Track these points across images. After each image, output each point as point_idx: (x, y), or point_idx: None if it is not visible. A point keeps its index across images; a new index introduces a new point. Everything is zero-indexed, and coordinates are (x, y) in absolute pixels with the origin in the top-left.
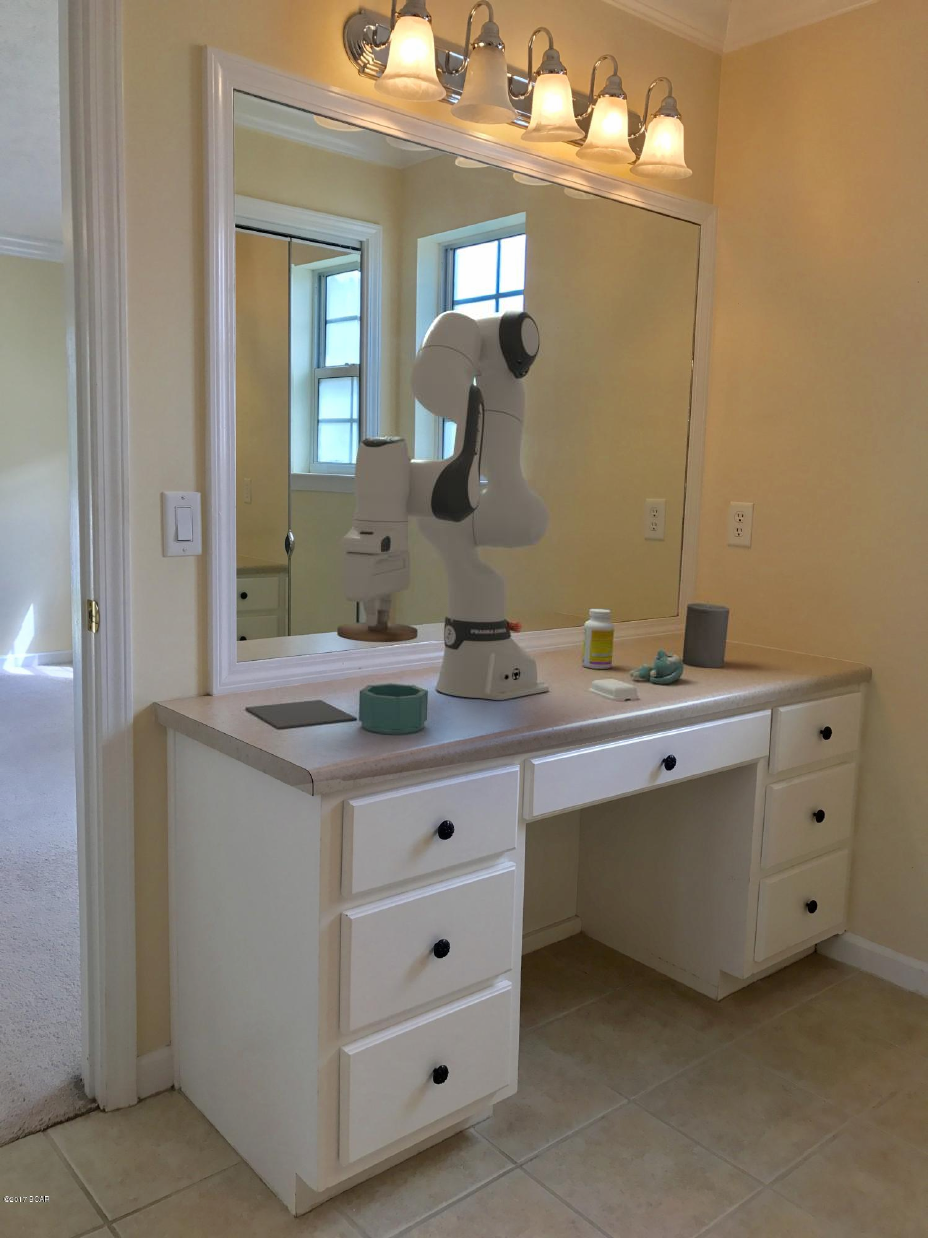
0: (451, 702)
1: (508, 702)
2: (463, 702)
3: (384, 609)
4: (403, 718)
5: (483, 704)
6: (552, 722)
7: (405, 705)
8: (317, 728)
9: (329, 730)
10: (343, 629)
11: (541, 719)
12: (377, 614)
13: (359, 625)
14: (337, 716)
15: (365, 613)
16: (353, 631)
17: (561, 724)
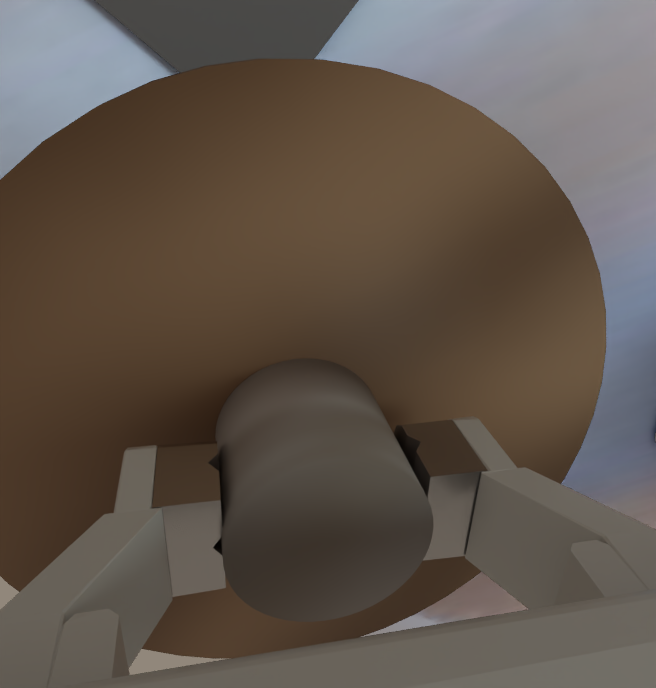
0: (614, 334)
1: (645, 462)
2: (621, 364)
3: (481, 527)
4: None
5: (608, 418)
6: (466, 602)
7: None
8: (39, 25)
9: (43, 93)
10: (75, 198)
11: (487, 577)
12: (164, 601)
13: (392, 235)
14: (236, 46)
15: (96, 522)
16: (40, 330)
17: (454, 620)
